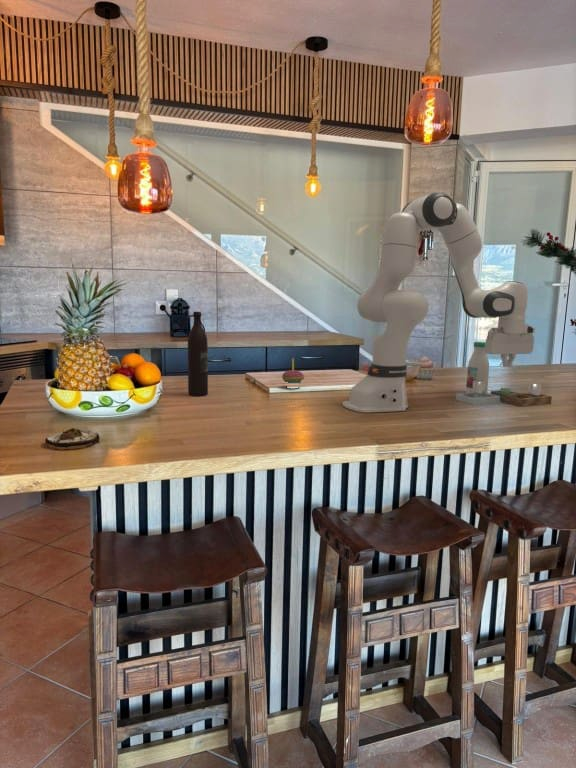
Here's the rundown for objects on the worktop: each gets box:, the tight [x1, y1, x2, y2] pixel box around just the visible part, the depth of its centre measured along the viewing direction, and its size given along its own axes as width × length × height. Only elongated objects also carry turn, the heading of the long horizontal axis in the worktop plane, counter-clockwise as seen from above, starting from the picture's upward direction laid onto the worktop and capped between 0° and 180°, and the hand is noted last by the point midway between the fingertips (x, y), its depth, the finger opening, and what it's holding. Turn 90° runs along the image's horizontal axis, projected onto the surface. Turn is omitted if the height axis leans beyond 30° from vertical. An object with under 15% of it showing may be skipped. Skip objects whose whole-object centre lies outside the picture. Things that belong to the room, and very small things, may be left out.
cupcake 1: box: [281, 358, 305, 384], centre depth 221 cm, size 9×8×12 cm
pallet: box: [501, 392, 553, 408], centre depth 198 cm, size 15×8×3 cm, turn 116°
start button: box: [500, 387, 512, 394], centre depth 204 cm, size 3×3×3 cm
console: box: [490, 389, 521, 402], centre depth 205 cm, size 7×7×3 cm
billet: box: [472, 380, 485, 398], centre depth 200 cm, size 4×4×7 cm
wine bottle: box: [187, 311, 209, 397], centre depth 203 cm, size 7×7×30 cm
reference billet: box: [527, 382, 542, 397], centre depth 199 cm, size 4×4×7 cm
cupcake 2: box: [417, 355, 436, 381], centre depth 249 cm, size 9×9×10 cm
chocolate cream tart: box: [44, 427, 101, 451], centre depth 141 cm, size 15×15×4 cm
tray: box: [455, 392, 501, 406], centre depth 200 cm, size 12×9×2 cm
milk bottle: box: [465, 341, 490, 393], centre depth 213 cm, size 8×8×20 cm
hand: (507, 366), depth 202 cm, fingers closed
